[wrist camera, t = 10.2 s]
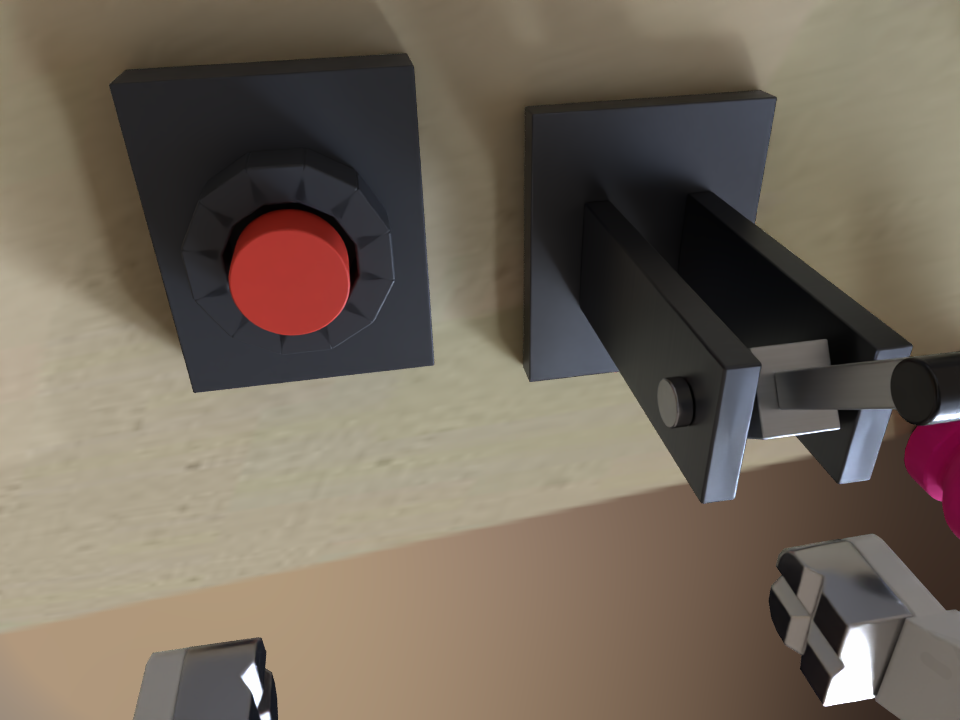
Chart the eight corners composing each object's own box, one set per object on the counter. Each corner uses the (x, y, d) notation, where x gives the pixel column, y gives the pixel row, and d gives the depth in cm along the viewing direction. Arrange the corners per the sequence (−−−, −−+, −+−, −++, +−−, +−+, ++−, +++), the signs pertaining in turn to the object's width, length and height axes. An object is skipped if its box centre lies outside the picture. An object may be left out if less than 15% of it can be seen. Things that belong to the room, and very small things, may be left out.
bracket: (524, 106, 27) (658, 247, 16) (761, 89, 28) (1034, 210, 17) (522, 367, 33) (621, 600, 22) (719, 344, 34) (903, 554, 23)
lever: (924, 311, 11) (948, 471, 11) (1209, 278, 12) (1235, 428, 12) (659, 361, 22) (670, 442, 22) (816, 342, 23) (828, 421, 23)
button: (223, 213, 23) (216, 234, 22) (341, 203, 24) (342, 223, 22) (245, 316, 25) (240, 342, 24) (354, 304, 26) (356, 330, 24)
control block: (124, 69, 24) (92, 97, 21) (407, 52, 25) (420, 77, 22) (201, 362, 30) (185, 422, 26) (428, 337, 31) (440, 391, 28)
